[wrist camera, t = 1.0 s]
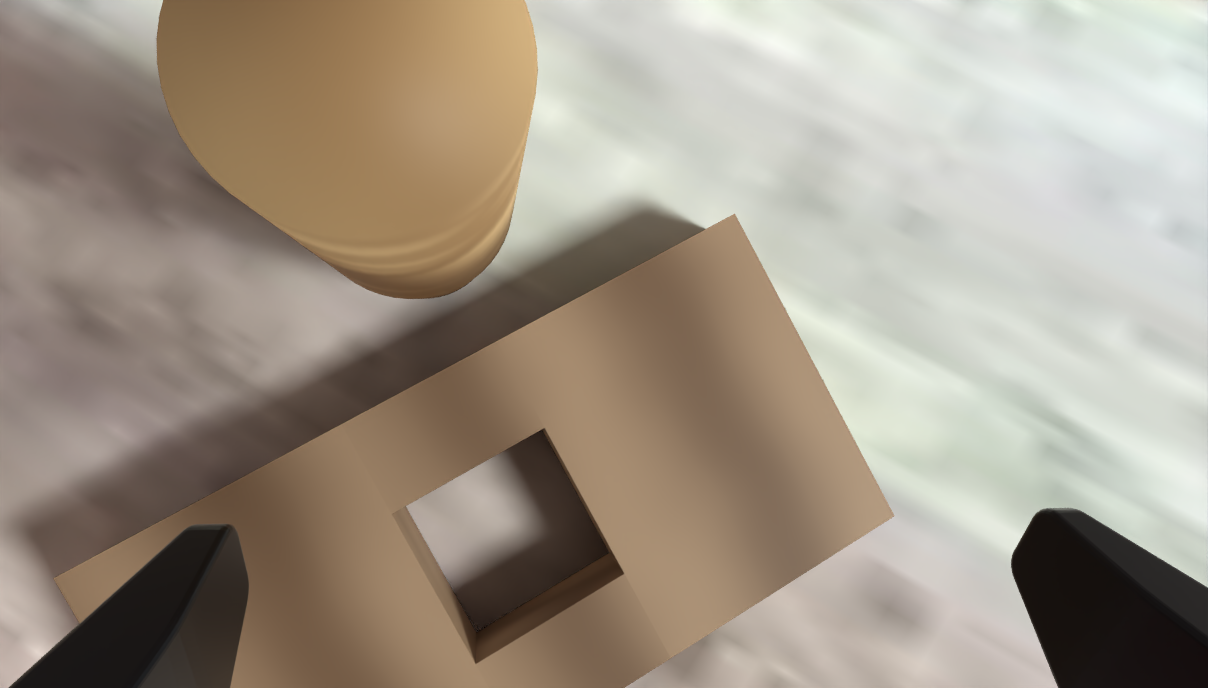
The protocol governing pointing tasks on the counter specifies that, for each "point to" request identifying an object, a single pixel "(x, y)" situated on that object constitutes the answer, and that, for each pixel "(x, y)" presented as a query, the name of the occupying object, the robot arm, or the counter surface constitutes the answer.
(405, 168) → the oak peg
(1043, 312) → the counter surface
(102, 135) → the counter surface
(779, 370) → the wooden flat block
